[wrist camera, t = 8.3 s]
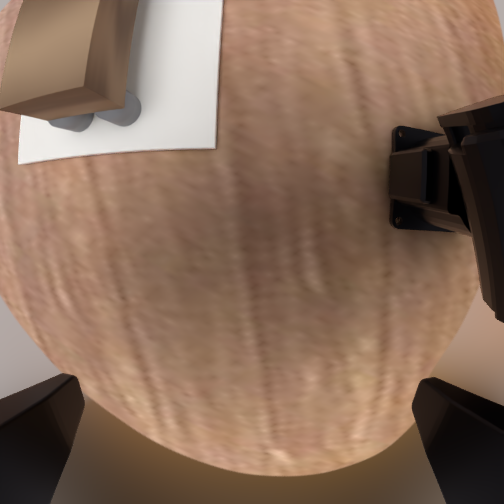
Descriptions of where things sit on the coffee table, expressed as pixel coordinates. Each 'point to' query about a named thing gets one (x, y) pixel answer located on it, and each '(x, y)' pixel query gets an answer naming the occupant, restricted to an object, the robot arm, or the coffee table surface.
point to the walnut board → (68, 58)
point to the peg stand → (148, 91)
